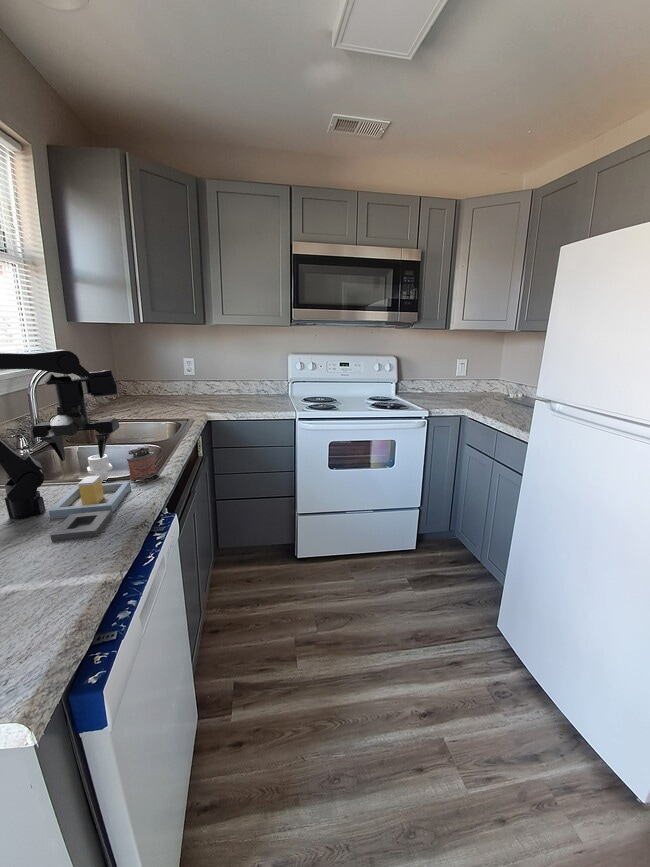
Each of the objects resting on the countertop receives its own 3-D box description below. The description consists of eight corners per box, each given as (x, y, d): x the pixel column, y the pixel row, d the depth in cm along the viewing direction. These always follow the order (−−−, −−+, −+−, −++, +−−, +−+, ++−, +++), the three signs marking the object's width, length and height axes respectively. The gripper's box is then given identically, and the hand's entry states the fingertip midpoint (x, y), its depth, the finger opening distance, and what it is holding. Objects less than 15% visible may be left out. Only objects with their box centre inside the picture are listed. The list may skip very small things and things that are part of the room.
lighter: (153, 473, 128) (149, 443, 125) (158, 475, 126) (154, 445, 123) (128, 481, 122) (123, 449, 119) (133, 483, 120) (128, 451, 117)
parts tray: (51, 522, 96) (48, 510, 96) (78, 495, 112) (76, 485, 111) (113, 516, 99) (111, 505, 98) (131, 491, 114) (129, 481, 113)
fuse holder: (52, 545, 86) (50, 534, 85) (72, 523, 95) (70, 514, 95) (97, 540, 87) (95, 530, 87) (112, 519, 97) (111, 510, 96)
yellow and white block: (82, 507, 102) (78, 483, 101) (90, 499, 107) (86, 476, 105) (97, 505, 103) (93, 482, 101) (104, 498, 108) (100, 475, 106)
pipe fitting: (110, 484, 119) (105, 459, 117) (84, 486, 118) (80, 460, 116) (118, 477, 125) (114, 452, 123) (94, 478, 124) (90, 454, 122)
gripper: (12, 408, 91) (27, 472, 95) (100, 404, 94) (110, 466, 98) (36, 400, 102) (49, 458, 106) (115, 396, 105) (124, 453, 109)
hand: (82, 459), depth 105 cm, fingers open, 9 cm apart
